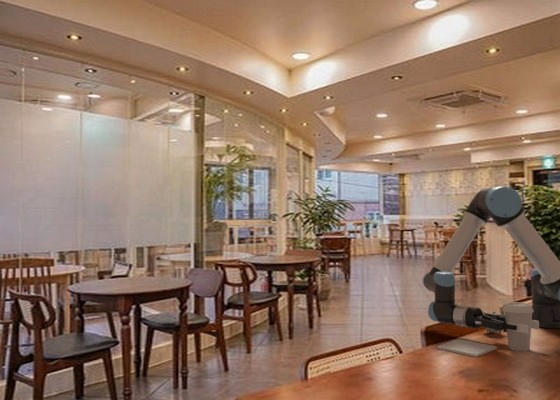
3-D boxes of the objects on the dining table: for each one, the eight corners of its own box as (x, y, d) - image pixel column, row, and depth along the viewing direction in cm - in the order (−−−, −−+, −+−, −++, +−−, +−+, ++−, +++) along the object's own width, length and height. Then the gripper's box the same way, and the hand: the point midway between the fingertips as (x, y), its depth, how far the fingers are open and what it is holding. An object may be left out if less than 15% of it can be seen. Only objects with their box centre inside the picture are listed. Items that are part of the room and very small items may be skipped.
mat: (458, 341, 177) (458, 338, 177) (496, 348, 166) (496, 346, 166) (437, 348, 168) (437, 346, 168) (476, 357, 157) (476, 354, 157)
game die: (498, 343, 186) (509, 326, 181) (475, 335, 188) (486, 317, 182) (497, 327, 194) (508, 310, 188) (476, 319, 195) (486, 302, 190)
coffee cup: (528, 344, 171) (526, 301, 171) (539, 352, 161) (538, 307, 162) (499, 344, 172) (498, 301, 172) (509, 352, 162) (508, 307, 163)
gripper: (482, 322, 187) (545, 333, 170) (454, 331, 174) (520, 344, 156) (482, 303, 187) (545, 311, 170) (454, 310, 174) (519, 320, 157)
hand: (533, 327), depth 163 cm, fingers closed on coffee cup, 8 cm apart
